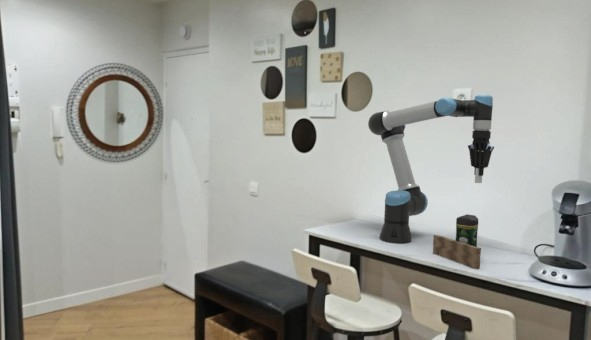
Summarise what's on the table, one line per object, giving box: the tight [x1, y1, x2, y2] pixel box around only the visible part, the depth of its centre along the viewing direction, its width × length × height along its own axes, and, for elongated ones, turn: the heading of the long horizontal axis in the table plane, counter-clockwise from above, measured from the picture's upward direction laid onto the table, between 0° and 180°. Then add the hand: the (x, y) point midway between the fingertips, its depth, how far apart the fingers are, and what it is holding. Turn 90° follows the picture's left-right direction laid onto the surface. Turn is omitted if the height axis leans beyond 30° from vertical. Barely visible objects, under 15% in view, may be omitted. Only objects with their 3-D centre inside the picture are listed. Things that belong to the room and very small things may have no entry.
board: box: [432, 234, 482, 270], centre depth 186 cm, size 24×2×8 cm, turn 25°
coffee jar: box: [455, 214, 479, 247], centre depth 188 cm, size 10×8×19 cm
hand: (478, 182), depth 205 cm, fingers closed
